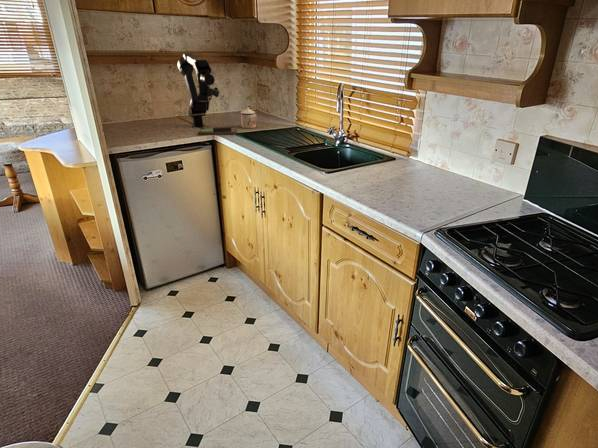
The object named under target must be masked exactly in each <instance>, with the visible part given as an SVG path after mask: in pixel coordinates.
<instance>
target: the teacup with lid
mask: <svg viewBox="0 0 598 448" xmlns="http://www.w3.org/2000/svg"><path fill="white" fill-rule="evenodd" d="M257 121H258V114H256V111H255V110H252V109H250V107H246V108H245V109H243V110H241V111H240V122H241V128H243V129H255V128H256V127H257Z"/></svg>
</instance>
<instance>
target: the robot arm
mask: <svg viewBox="0 0 598 448" xmlns="http://www.w3.org/2000/svg"><path fill="white" fill-rule="evenodd" d="M176 64H177V69H178V71H179V73H180V74H181V75H182V76H183V78H184V81H185V84H186V87H187V92H188V95H189V99H190V102H189V108H188V113H187V114H188V116H189V117H190V118H192V125H191V126H192V128H204V126H205V123H204V122H203V120H204V119H203V117H206V114H207V111H209V108H210V101H211V99H213V97H215V98H219V96H220V93H221V92H220V90H219V87H216V86H215V87H214V88H212V87H211V86H213V85H214V83H215V77H214V75H213V74H212V68H211V66H210V63H209V61H208V60H207V59H205V58H198V57H196V56H195V55H194V54H193V53H184V54H182V56H181V57H180V58H179V59H178V61H177V63H176ZM194 71H195V75H196V80H197V81H196V82H197V87H196V83H195V80H194V76H193V72H194ZM197 89H198V91H197Z"/></svg>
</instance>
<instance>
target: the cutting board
mask: <svg viewBox="0 0 598 448" xmlns="http://www.w3.org/2000/svg"><path fill="white" fill-rule="evenodd" d="M201 129H202V128H200V129H199V131H198V132H197V135H198V136H225V135H226V136H227V135H228V136H229V135H231V136H233V135H235V134H236V132H237V129H236V128H231V131H213V132H200V131H201Z"/></svg>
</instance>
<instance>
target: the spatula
mask: <svg viewBox="0 0 598 448" xmlns="http://www.w3.org/2000/svg"><path fill="white" fill-rule="evenodd" d="M200 129H201V131H200V130H199V131H200V132H213V131H231V129H232V126H214V127H212V128H200Z"/></svg>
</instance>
